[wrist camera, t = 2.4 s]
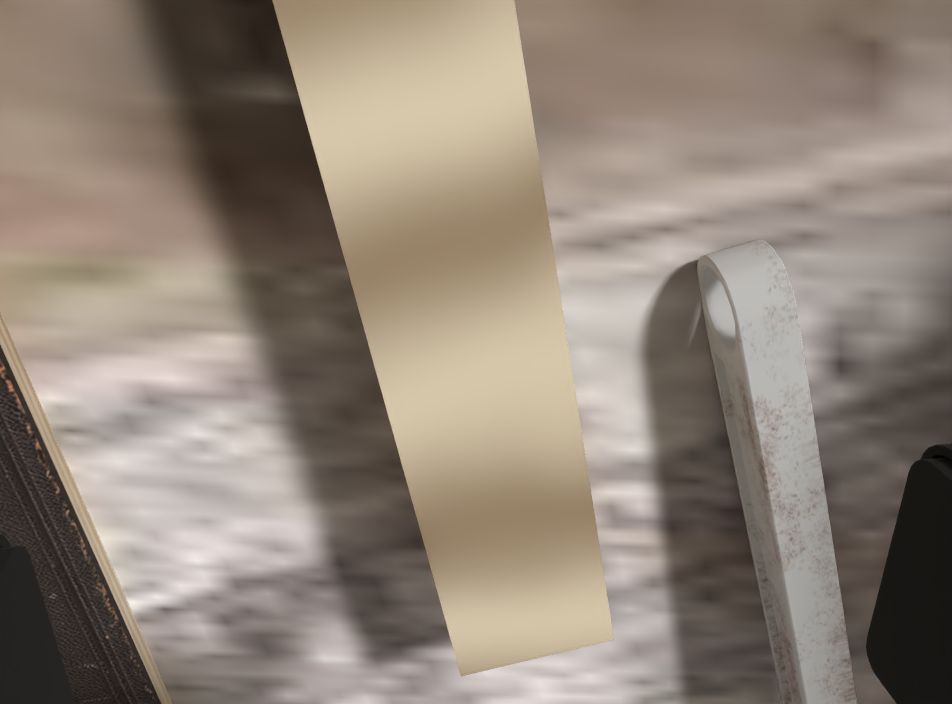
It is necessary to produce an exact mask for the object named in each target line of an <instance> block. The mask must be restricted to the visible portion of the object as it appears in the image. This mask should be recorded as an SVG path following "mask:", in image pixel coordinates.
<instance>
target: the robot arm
mask: <svg viewBox="0 0 952 704" xmlns="http://www.w3.org/2000/svg"><path fill="white" fill-rule="evenodd" d="M866 648H867V655H868V659H869V662H870V665H871V667H872V670H873V671H874V673H875V675H876V676H877V678H878V679H879V680H880V682H881V683H882V684H883V686H884V687H885V688H886V690H887V691H888V692H889V694H890V695H891V697H892V698H893V699H894V701H895V702H896V703H897V704H952V444H942V445H935V446H932V447H929V448H928V449H927V450H926V451H925V452H924V453H923V455H922V458H921V460H919V461H916V462H915V463H914V464H913V465H912V466H911V469H910V471H909V474H908V478H907V482H906V486H905V490H904V494H903V498H902V502H901V506H900V510H899V514H898V517H897V521H896V525H895V529H894V533H893V537H892V541H891V545H890V549H889V553H888V557H887V561H886V565H885V569H884V573H883V577H882V581H881V585H880V589H879V593H878V597H877V601H876V605H875V609H874V613H873V617H872V620H871V624H870V628H869V632H868V636H867V643H866ZM0 704H75V701H74V697H73V694H72V691H71V688H70V684H69V681H68V678H67V675H66V671H65V668H64V665H63V661H62V658H61V655H60V652H59V648H58V645H57V642H56V639H55V635H54V632H53V629H52V626H51V622H50V619H49V616H48V613H47V609H46V606H45V603H44V599H43V596H42V593H41V590H40V586H39V583H38V580H37V577H36V573H35V570H34V567H33V564H32V560H31V557H30V555H29V553H28V551H27V550H26V549H25V547H23V546H12V547H11V545H10V543H9V541H8V540H7V538H6V537H5V536H4V535H3V534H0Z"/></svg>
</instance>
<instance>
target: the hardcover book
mask: <svg viewBox="0 0 952 704" xmlns="http://www.w3.org/2000/svg"><path fill="white" fill-rule="evenodd" d="M0 534H3V535H4V536H5V537H6V538H7V540H8V541H9V543H10V545H11V547H12V546H23V547H25V549H26V550H27V551H28V553H29V555H30V557H31V560H32V564H33V567H34V570H35V573H36V577H37V580H38V583H39V586H40V590H41V593H42V596H43V599H44V603H45V606H46V609H47V613H48V616H49V619H50V622H51V626H52V629H53V632H54V635H55V639H56V642H57V645H58V648H59V652H60V655H61V658H62V661H63V665H64V668H65V671H66V675H67V678H68V681H69V684H70V688H71V691H72V694H73V697H74V701H75V704H173V703H172V701H171V699H170V696H169V694H168V692H167V690H166V687H165V685H164V683H163V680H162V678H161V676H160V674H159V671H158V669H157V667H156V665H155V662H154V660H153V658H152V656H151V653H150V651H149V649H148V646H147V644H146V642H145V640H144V637H143V635H142V633H141V631H140V628H139V626H138V624H137V622H136V619H135V617H134V615H133V612H132V610H131V608H130V606H129V603H128V601H127V599H126V597H125V594H124V592H123V590H122V588H121V585H120V583H119V581H118V578H117V576H116V574H115V572H114V569H113V567H112V565H111V563H110V560H109V558H108V556H107V554H106V551H105V549H104V547H103V544H102V542H101V540H100V538H99V535H98V533H97V531H96V529H95V526H94V524H93V522H92V520H91V517H90V515H89V513H88V510H87V508H86V506H85V504H84V501H83V499H82V497H81V495H80V492H79V490H78V488H77V486H76V483H75V481H74V479H73V476H72V474H71V472H70V470H69V467H68V465H67V463H66V461H65V458H64V456H63V454H62V452H61V449H60V447H59V445H58V442H57V440H56V438H55V436H54V433H53V431H52V429H51V427H50V424H49V422H48V420H47V417H46V415H45V413H44V411H43V408H42V406H41V404H40V402H39V399H38V397H37V395H36V393H35V390H34V388H33V386H32V383H31V381H30V379H29V377H28V374H27V372H26V370H25V368H24V365H23V363H22V361H21V359H20V356H19V354H18V352H17V349H16V347H15V345H14V343H13V340H12V338H11V336H10V334H9V331H8V329H7V327H6V325H5V322H4V320H3V318H2V315H1V313H0Z"/></svg>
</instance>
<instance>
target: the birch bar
mask: <svg viewBox="0 0 952 704" xmlns="http://www.w3.org/2000/svg"><path fill="white" fill-rule="evenodd" d="M272 1H273V4H274V8H275V11H276V15H277V19H278V22H279V26H280V29H281V33H282V37H283V40H284V44H285V47H286V51H287V54H288V58H289V62H290V65H291V69H292V72H293V76H294V80H295V83H296V87H297V90H298V94H299V97H300V101H301V105H302V108H303V112H304V115H305V119H306V123H307V126H308V130H309V133H310V137H311V141H312V144H313V148H314V151H315V155H316V158H317V162H318V166H319V169H320V173H321V176H322V180H323V184H324V187H325V191H326V194H327V198H328V201H329V205H330V209H331V212H332V216H333V219H334V223H335V227H336V230H337V234H338V237H339V241H340V244H341V248H342V252H343V255H344V259H345V262H346V266H347V270H348V273H349V277H350V280H351V284H352V288H353V291H354V295H355V298H356V302H357V305H358V309H359V313H360V316H361V320H362V323H363V327H364V331H365V334H366V338H367V341H368V345H369V348H370V352H371V356H372V359H373V363H374V366H375V370H376V374H377V377H378V381H379V384H380V388H381V391H382V395H383V399H384V402H385V406H386V409H387V413H388V417H389V420H390V424H391V427H392V431H393V435H394V438H395V442H396V445H397V449H398V452H399V456H400V460H401V463H402V467H403V470H404V474H405V478H406V481H407V485H408V488H409V492H410V495H411V499H412V503H413V506H414V510H415V513H416V517H417V521H418V524H419V528H420V531H421V535H422V538H423V542H424V546H425V549H426V553H427V556H428V560H429V564H430V567H431V571H432V574H433V578H434V582H435V585H436V589H437V592H438V596H439V599H440V603H441V607H442V610H443V614H444V617H445V621H446V625H447V628H448V632H449V635H450V639H451V642H452V646H453V650H454V653H455V657H456V660H457V664H458V668H459V671H460V675H461V676H464V675H469V674H473V673H477V672H481V671H485V670H490V669H494V668H498V667H502V666H506V665H511V664H515V663H519V662H523V661H528V660H532V659H536V658H540V657H544V656H549V655H553V654H557V653H561V652H565V651H570V650H574V649H578V648H582V647H587V646H591V645H595V644H599V643H603V642H608V641H612V640H614V636H613V630H612V623H611V617H610V610H609V604H608V598H607V591H606V585H605V578H604V572H603V566H602V559H601V553H600V546H599V540H598V534H597V527H596V521H595V514H594V508H593V502H592V495H591V489H590V482H589V476H588V470H587V463H586V457H585V450H584V444H583V438H582V431H581V425H580V418H579V412H578V406H577V399H576V393H575V386H574V380H573V374H572V367H571V361H570V354H569V348H568V342H567V335H566V329H565V322H564V316H563V310H562V303H561V297H560V290H559V284H558V278H557V271H556V265H555V258H554V252H553V246H552V239H551V233H550V226H549V220H548V214H547V207H546V201H545V194H544V188H543V182H542V175H541V169H540V162H539V156H538V150H537V143H536V137H535V130H534V124H533V118H532V111H531V105H530V98H529V92H528V86H527V79H526V73H525V66H524V60H523V54H522V47H521V41H520V34H519V28H518V22H517V15H516V9H515V2H514V0H272Z"/></svg>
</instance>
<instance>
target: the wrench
mask: <svg viewBox="0 0 952 704" xmlns="http://www.w3.org/2000/svg"><path fill="white" fill-rule="evenodd" d="M697 274H698V281H699V287H700V293H701V299H702V306H703V312H704V318H705V324H706V330H707V334H708V339H709V345H710V350H711V355H712V360H713V365H714V369H715V374H716V379H717V384H718V389H719V394H720V399H721V403H722V408H723V413H724V418H725V423H726V428H727V432H728V437H729V442H730V447H731V452H732V457H733V462H734V467H735V472H736V477H737V482H738V487H739V492H740V497H741V502H742V507H743V512H744V517H745V522H746V527H747V532H748V537H749V542H750V547H751V552H752V557H753V562H754V567H755V572H756V577H757V582H758V587H759V592H760V596H761V601H762V606H763V611H764V616H765V621H766V626H767V631H768V636H769V641H770V646H771V651H772V656H773V660H774V665H775V670H776V675H777V680H778V685H779V690H780V695H781V700H782V704H858V703H857V697H856V690H855V684H854V677H853V671H852V664H851V657H850V651H849V644H848V638H847V631H846V625H845V618H844V612H843V605H842V599H841V592H840V585H839V579H838V572H837V566H836V559H835V553H834V546H833V540H832V533H831V527H830V520H829V513H828V507H827V500H826V494H825V487H824V481H823V474H822V468H821V461H820V455H819V448H818V441H817V435H816V428H815V422H814V415H813V409H812V402H811V396H810V389H809V383H808V376H807V370H806V363H805V356H804V350H803V343H802V337H801V330H800V324H799V317H798V310H797V305H796V300H795V295H794V291H793V288H792V285H791V282H790V279H789V276H788V273H787V271H786V269H785V266H784V264H783V262H782V261H781V259H780V258H779V256H778V255H777V253H776V252H775V251H774V249H773V248H772V247H771V246H770V245H769V244H768V243H766V242H765V241H764V240H754V241H750V242H747V243H744V244H740V245H737V246H734V247H731V248H727V249H724V250H721V251H717V252H714V253H711V254H707V255H704V256H702V257H700V258H699V260H698V264H697Z"/></svg>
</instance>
